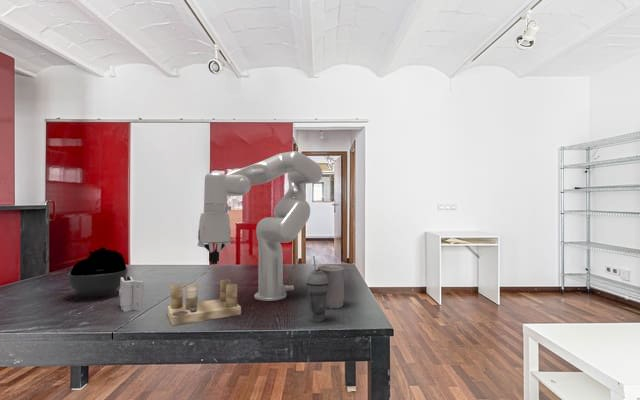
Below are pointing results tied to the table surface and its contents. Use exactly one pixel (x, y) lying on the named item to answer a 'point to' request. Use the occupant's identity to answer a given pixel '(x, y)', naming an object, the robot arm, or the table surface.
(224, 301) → the stool seat
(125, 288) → the hinge
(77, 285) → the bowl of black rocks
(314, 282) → the beverage cup
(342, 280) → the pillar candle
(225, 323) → the table surface
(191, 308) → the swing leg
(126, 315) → the table surface
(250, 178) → the robot arm
